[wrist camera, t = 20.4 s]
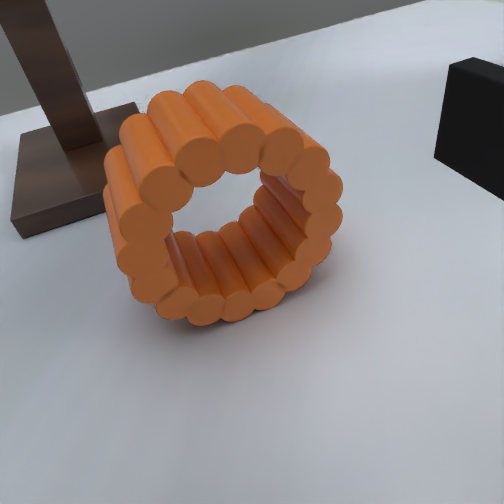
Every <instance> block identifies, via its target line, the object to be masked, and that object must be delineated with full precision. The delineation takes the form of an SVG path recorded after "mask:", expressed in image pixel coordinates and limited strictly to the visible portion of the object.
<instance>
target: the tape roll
mask: <svg viewBox="0 0 504 504" xmlns="http://www.w3.org/2000/svg"><path fill="white" fill-rule="evenodd" d="M119 138H120V142H121V145H117V146H115V147H113V148H112V149H111V150H110V151H109V152H108V153H107V154H106V156H105V159H104V169H105V173H106V177H107V181H108V183H107V185H106V186H105V188H104V190H103V199H104V204H105V209H106V213H107V218H108V223H109V228H110V232H111V237H112V242H113V246H114V251H115V256H116V261H117V265H118V267H119V269H120V270H121V271H122V272H123V273H124V274H126V275H127V276H128V281H129V285H130V289H131V293H132V295H133V296H134V298H135V299H137V300H138V301H140V302H142V303H147V304H154V305H155V308H156V311H157V313H158V314H159V315H160V316H161V317H162V318H164V319H168V320H178V319H182V318H184V317H187V319H188V321H189V322H190V323H192V324H194V325H197V326H205V325H209V324H212V323H214V322H216V321H218V320H219V319H220V318H222V319H223V320H225V321H229V322H234V321H239V320H242V319H244V318H246V317H247V316H249V315H250V314H251V313H252V312H253V311H254V309H257V310H266V309H270V308H272V307H274V306H275V305H277V304H278V303H279V302H280V301H281V300H282V299H283V298H284V296H285V293H286V292H289V291H294V290H296V289H298V288H300V287H302V286H303V285H304V284H305V283H306V282H307V281H308V280H309V278H310V276H311V274H312V267H313V266H316V265H318V264H319V263H321V262H322V261H323V260H324V259H325V258H326V257H327V256H328V255H329V253H330V251H331V247H332V243H331V239H330V236H331V235H333V234H334V233H335V232H336V231H337V229H338V228H339V226H340V225H341V222H342V218H343V214H342V210H341V208H340V207H339V206H338V205H337V204H336V203H337V202H338V200H339V199H340V197H341V195H342V191H343V183H342V180H341V178H340V177H339V176H338V175H337V174H336V173H335V172H334V171H332V170H331V169H330V168H329V167H330V158H329V154H328V152H327V151H326V149H324V148H323V147H322V146H321V145H320V144H318V143H317V142H316V141H315V140H313V139H312V138H311V137H310V136H309V135H307V134H306V133H305V132H304V131H302V130H301V129H300V128H299V127H297V126H296V125H295V124H294V123H292V122H291V121H290V120H289V119H287V118H286V117H285V116H284V115H283V114H281V113H280V112H279V111H278V110H276V109H275V108H274V107H273V106H271V105H270V104H267V103H263V102H262V101H261V100H260V99H259V98H257V97H256V96H255V95H254V94H253V93H251V92H250V91H249V90H248V89H246V88H245V87H243V86H238V85H234V86H230V87H227V88H226V89H224V90H223V91H222V90H221V89H220V88H219V87H217V86H216V85H215V84H214V83H212V82H209V81H197V82H195V83H193V84H191V85H190V86H189V87H188V88H187V89H186V90H185V92H184V93H183V95H182V94H180V93H178V92H176V91H163V92H160V93H158V94H157V95H155V96H154V97H153V98H152V99H151V101H150V103H149V105H148V108H147V114H144V113H139V114H134V115H132V116H130V117H128V118H127V119H126V120H125V121H124V122H123V123H122V125H121V127H120V131H119ZM256 167H259V168H260V170H261V172H260V179H261V182H262V184H263V185H262V186H261V187H260V188H259V189H258V190H257V191H256V193H255V195H254V199H253V203H254V205H252V206H250V207H248V208H246V209H245V210H244V211H243V212H242V213H241V215H240V217H239V220H238V222H230V223H228V224H226V225H224V226H223V227H222V228H221V229H220V230H219V232H218V233H217V232H214V231H206V232H203V233H201V234H199V235H198V236H196V237H195V236H194V235H193V234H192V233H190V232H186V231H179V232H175V233H173V230H172V226H173V216H172V213H171V212H175V211H177V210H179V209H181V208H182V207H184V206H185V205H186V204H187V203H188V202H189V200H190V199H191V197H192V194H193V190H194V187H205V186H208V185H211V184H213V183H214V182H216V181H217V180H218V179H219V178H220V177H221V176H222V175H223V173H224V171H225V170H226V171H227V172H229V173H232V174H245V173H248V172H250V171H252V170H254V169H255V168H256Z"/></svg>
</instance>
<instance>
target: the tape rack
mask: <svg viewBox="0 0 504 504" xmlns="http://www.w3.org/2000/svg"><path fill="white" fill-rule="evenodd" d="M0 24H1V26H2V28H3V30H4V32H5V34H6V36H7V38H8V40H9V42H10V44H11V46H12V48H13V50H14V52H15V54H16V56H17V58H18V60H19V62H20V64H21V66H22V68H23V70H24V73H25V75H26V77H27V78H28V81H29V83H30V85H31V87H32V89H33V90H34V93H35V95H36V97H37V99H38V101H39V103H40V105H41V107H42V109H43V111H44V113H45V115H46V117H47V119H48V121H49V123H50V125H51V126H47V127H44V128H40V129H37V130H33V131H30V132H26V133H23V134H21V136H20V144H19V152H18V161H17V169H16V177H15V186H14V194H13V202H12V211H11V219H10V221H11V222H12V224H13V225H14V227H15V228H16V230H17V231H18V233H19V234H20V236H21V237H22V238H26V237H29V236H32V235H35V234H38V233H41V232H44V231H47V230H50V229H53V228H56V227H59V226H62V225H65V224H68V223H71V222H74V221H77V220H80V219H83V218H86V217H89V216H93V215H96V214H99V213H102V212H105V211H106V209H105V204H104V199H103V190H104V188H105V186H106V185H107V183H108V181H107V177H106V173H105V169H104V159H105V156H106V154H107V153H108V152H109V151H110V150H111V149H112V148H113V147H115V146H117V145H121V142H120V138H119V131H120V127H121V125H122V123H123V122H124V121H125V120H126V119H127V118H128V117H130V116H132V115H134V114H139V113H140V112H139V110H138V108H137V106H136V104H135V102H132V103H128V104H125V105H121V106H118V107H114V108H111V109H107V110H104V111H100V112H97V113H94V112H93V110H92V107H91V105H90V102H89V100H88V97H87V95H86V93H85V90H84V88H83V85H82V83H81V81H80V78H79V76H78V73H77V71H76V68H75V66H74V64H73V61H72V59H71V57H70V54H69V51H68V49H67V47H66V44H65V42H64V39H63V37H62V34H61V32H60V30H59V27H58V25H57V22H56V20H55V18H54V15H53V13H52V10H51V8H50V5H49V3H48V1H47V0H0Z"/></svg>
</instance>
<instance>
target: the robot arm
mask: <svg viewBox="0 0 504 504" xmlns="http://www.w3.org/2000/svg"><path fill="white" fill-rule="evenodd" d="M434 158H435V159H437V160H438V161H440V162H442V163H443V164H445V165H446V166H448V167H450V168H451V169H453V170H455V171H456V172H458V173H459V174H461V175H463V176H464V177H466V178H468V179H469V180H471V181H472V182H474V183H476V184H477V185H479V186H481V187H482V188H484V189H485V190H487V191H489V192H490V193H492V194H494V195H495V196H497V197H498V198H500V199H502V200H503V201H504V67H503V66H500V65H497V64H493V63H490V62H487V61H484V60H481V59H478V58H475V57H472V58H469V59H466V60H463V61H459V62H456V63H453V64H450V65H449V70H448V76H447V82H446V88H445V94H444V100H443V105H442V111H441V117H440V123H439V129H438V135H437V141H436V147H435V153H434Z"/></svg>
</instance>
